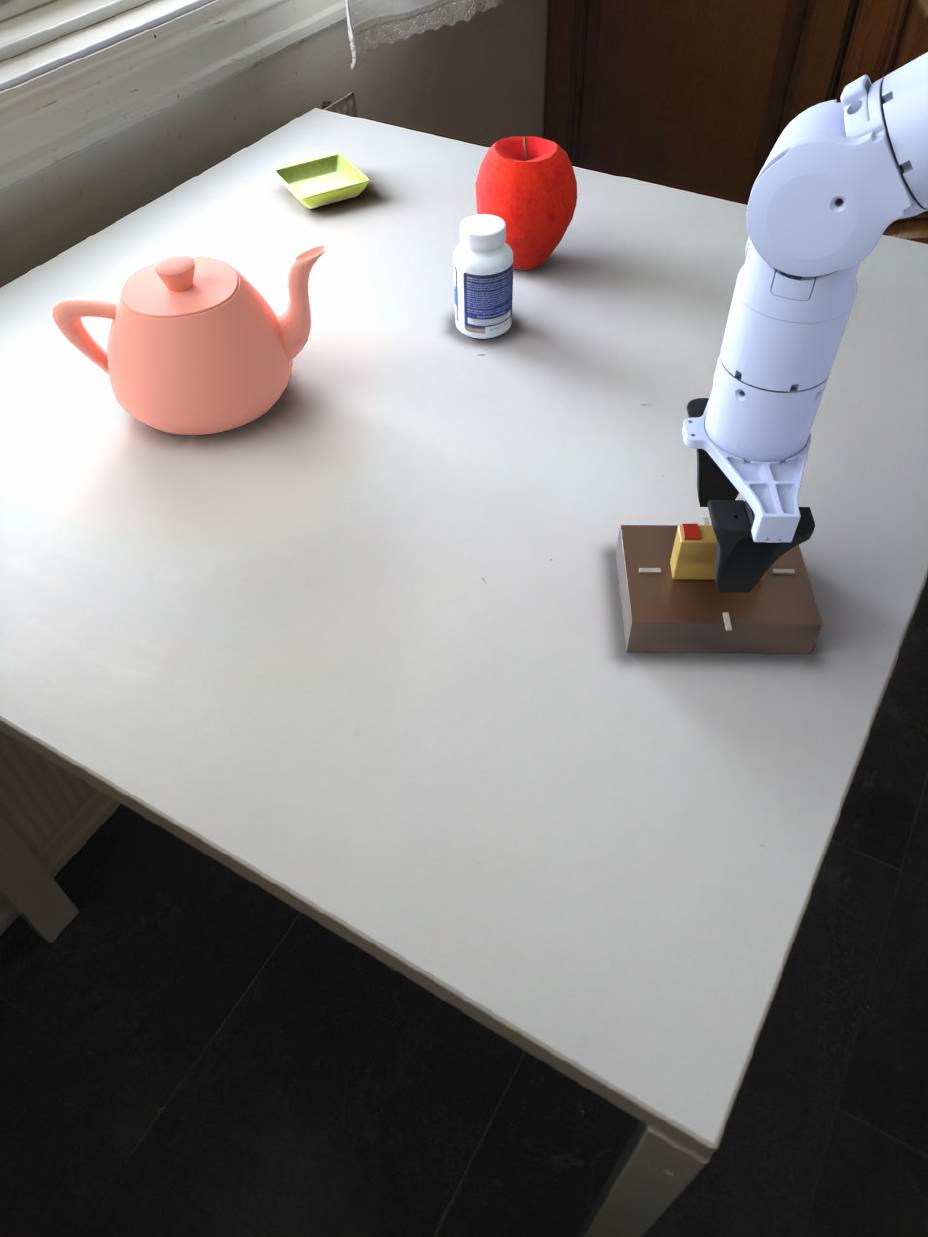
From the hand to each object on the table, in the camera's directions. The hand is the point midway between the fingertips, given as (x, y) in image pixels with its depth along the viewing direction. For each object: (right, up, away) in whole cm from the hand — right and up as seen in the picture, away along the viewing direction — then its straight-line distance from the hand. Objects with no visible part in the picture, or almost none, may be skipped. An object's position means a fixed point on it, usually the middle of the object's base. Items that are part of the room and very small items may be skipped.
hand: (723, 544), depth 58 cm
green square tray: (-33, +44, +46) cm, 72 cm away
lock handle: (0, -2, +2) cm, 3 cm away
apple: (-10, +32, +35) cm, 49 cm away
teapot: (-38, +15, +21) cm, 46 cm away
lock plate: (0, -4, +4) cm, 6 cm away
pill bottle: (-15, +23, +28) cm, 39 cm away
